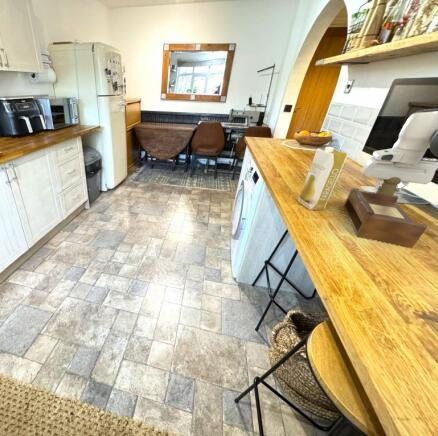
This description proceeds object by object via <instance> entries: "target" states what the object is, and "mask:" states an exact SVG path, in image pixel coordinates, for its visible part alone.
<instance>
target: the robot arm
mask: <svg viewBox="0 0 438 436" xmlns="http://www.w3.org/2000/svg"><path fill="white" fill-rule="evenodd" d="M428 149H429V150H430V152H431V153H432V155H433V156H435V157H437V158H438V108H425V109H420V110H416V111H415V112H413V113H412V114H411V115H409V117H408V118H407V120H406V121H405V123H404V124H403V125H402V128H401V129H400V132H399V134H398V139H397V140H396V142H395V143H394V144H393V146H392V148H387V149H380V150H374V151H373V153H372V157H370V158H368V160H367V161H366V162H365V163H364V166H363V167H362V169H361V170H360V174H361V175H362V177H363V178H369V179H375V183H376V184H375V188H374V189H375V190H378V189H379V190H380V189H381V188H382V187H383V186H382V184H381V182H382V181H383V179H386V180H388V179H390V178H392V177H398V178H400V179H401V182H400V183H399V184H398V185H397V187H396V190H395V192H394V193H400V192H401V190H402V189H403V188H405V187H407V186H408V185H409V183H411V184H421V185H428V184H430V183H431V182H432V180H433V179H434V176H435V174H436V171H437V170H438V159H437V158H433V157H432V158H429V157H424V156H425V154H426V152H427V150H428Z"/></svg>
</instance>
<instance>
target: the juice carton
mask: <svg viewBox="0 0 438 436" xmlns="http://www.w3.org/2000/svg"><path fill="white" fill-rule="evenodd" d="M348 157H349V153H348V152H344V151H340V150H337V149H335V147H332V146H326V147H321V148H319V147H318V148H317V149H316V151H315V153H314V156H313V159H312V162H311V164H310V167H309V170H308V173H307V176H306V178H305V180H304V184H303V186H302V188H301V191H300V193H299V197H298V201H297V202H298V203H299V204H300V205H302V206H303V207H305V208H306V209H307V210H309V211H319V210H320V211H321V210H324V209H325V208H326V206H327V205H328V202H329V200H330V198H331V196H332V194H333V191H334V189H335V187H336V184H337V182H338V179H339V177H340V175H341V172H342V170H343V168H344V166H345V164H346V161H347V160H348V159H347V158H348ZM344 163H345V164H344Z"/></svg>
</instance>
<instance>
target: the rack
mask: <svg viewBox="0 0 438 436" xmlns="http://www.w3.org/2000/svg"><path fill="white" fill-rule="evenodd" d="M398 199H399V196H398V195H395V194H394V195H389V194H382V193H376V191H375V192H373V191H369V190H368V191H367V190H361V189H360V188H357V187H356V188H355V187H353V188H351V190H350V191H349V193H348V196H347V198H346V200H345V202H344V204H343V206H342V208H343V210H344V211H345V214H346V216H347V218H348V220H349V223H350V225H351V227H352V229H353V231H354V234H355V235H357V236H356V238H360V237H361V238H360V239H364V238H366V240H369V239H372V240H371V241H374V240H377V241H376V242H379V241H381V242H380V243H384V242H386V243H385V244H388V243H391V244H390V245H393V244H396V245H395V246H398V245H400V246H399V247H402V248H408V249H413V248H414V246H415V245H416V243H417V242H419V240H420V238H421V236H422V235H423V234H424V232H426V230H427V228H428V226H427V225H426V224H423V223H419V222H414V220H413V219H412V218H411V217H410V216H409V214H407V213H406V211H404V210H403V208H401V206H400V205H399V204H398V202H397V201H398Z"/></svg>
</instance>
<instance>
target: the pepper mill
mask: <svg viewBox="0 0 438 436" xmlns="http://www.w3.org/2000/svg"><path fill="white" fill-rule="evenodd" d="M382 181H383V182H382V184H381V185H382V186H383V187H382V188H381V189H380V190H379V189H376V190H377V191H375V193H382V194H389V195H395V193H396V192H395V190H396V187H397V186H399V185H400V184H401V182H402V181H401V179H400V178H398V177H392V178H390V179H388V180H386V179H382Z"/></svg>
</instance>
